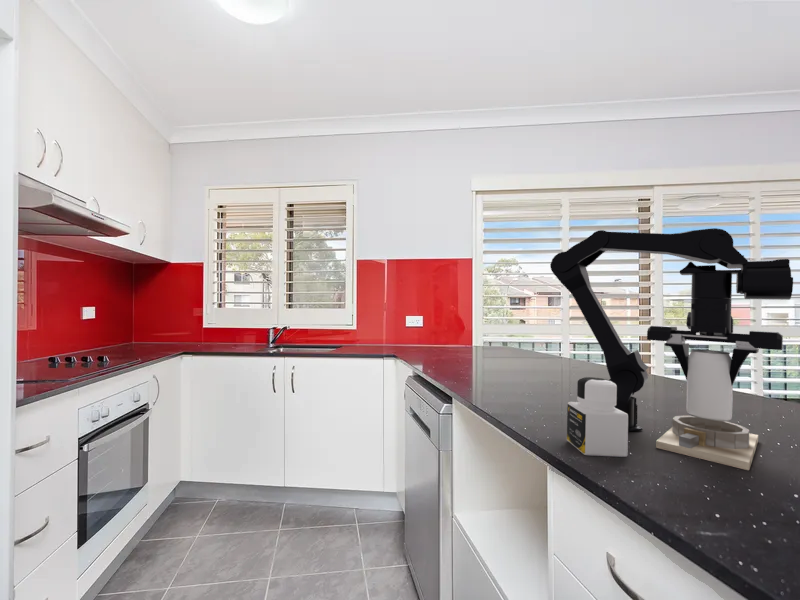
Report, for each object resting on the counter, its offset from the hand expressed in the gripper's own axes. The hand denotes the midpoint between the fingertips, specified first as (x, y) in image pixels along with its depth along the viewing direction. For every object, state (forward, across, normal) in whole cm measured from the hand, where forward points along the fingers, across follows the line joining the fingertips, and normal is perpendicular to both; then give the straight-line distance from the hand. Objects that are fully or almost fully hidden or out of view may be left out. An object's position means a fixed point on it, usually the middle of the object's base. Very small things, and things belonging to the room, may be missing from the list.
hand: (708, 383), depth 69 cm
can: (+6, 0, 0) cm, 6 cm away
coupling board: (+11, 0, 0) cm, 11 cm away
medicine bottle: (+11, +13, +19) cm, 26 cm away
